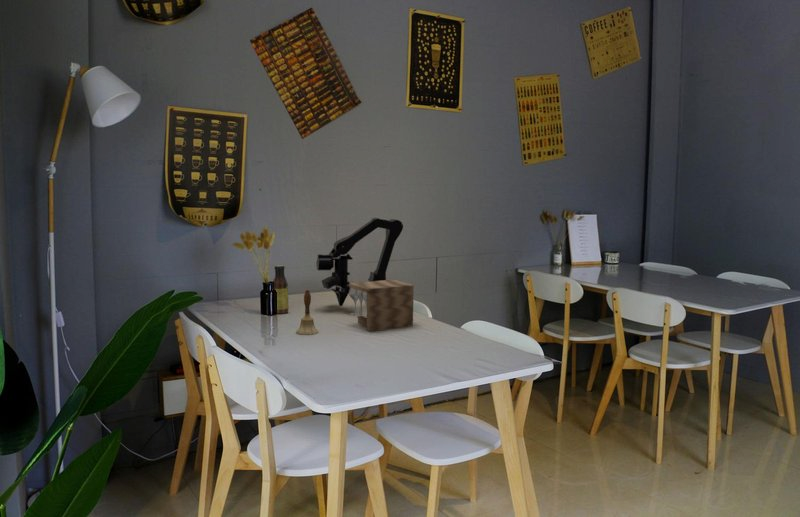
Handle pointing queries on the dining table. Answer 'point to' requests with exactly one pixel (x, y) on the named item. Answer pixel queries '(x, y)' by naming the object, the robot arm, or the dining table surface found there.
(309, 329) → the hand bell
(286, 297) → the sauce bottle
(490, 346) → the dining table surface
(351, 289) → the goblet set
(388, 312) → the walnut cubby
